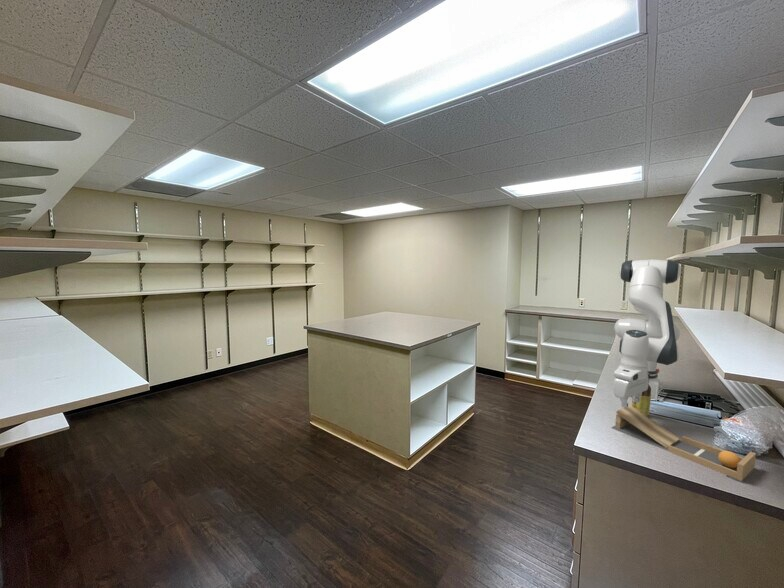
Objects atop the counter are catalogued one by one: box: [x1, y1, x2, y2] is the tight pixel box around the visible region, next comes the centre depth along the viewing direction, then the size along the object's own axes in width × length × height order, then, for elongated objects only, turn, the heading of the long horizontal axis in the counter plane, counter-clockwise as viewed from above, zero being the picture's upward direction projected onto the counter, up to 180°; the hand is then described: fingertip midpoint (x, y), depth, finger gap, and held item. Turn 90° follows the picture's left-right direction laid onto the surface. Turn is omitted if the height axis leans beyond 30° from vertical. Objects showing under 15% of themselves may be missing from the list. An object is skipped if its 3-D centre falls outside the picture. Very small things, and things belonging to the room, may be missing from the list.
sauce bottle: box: [631, 372, 652, 418], centre depth 140 cm, size 6×6×20 cm
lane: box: [610, 424, 757, 484], centre depth 116 cm, size 13×37×5 cm, turn 30°
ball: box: [718, 450, 740, 468], centre depth 104 cm, size 5×5×5 cm
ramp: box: [614, 404, 681, 448], centre depth 124 cm, size 10×18×7 cm, turn 30°
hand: (630, 404), depth 129 cm, fingers open, 8 cm apart
